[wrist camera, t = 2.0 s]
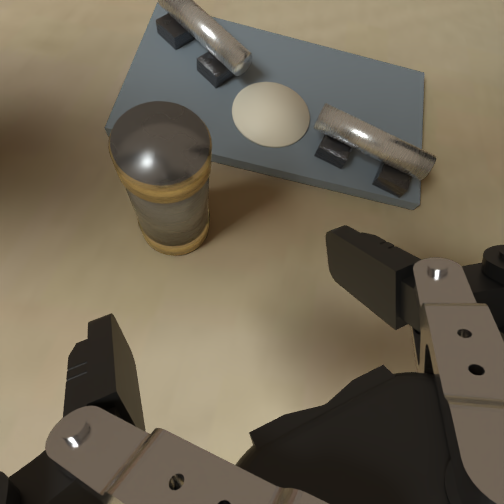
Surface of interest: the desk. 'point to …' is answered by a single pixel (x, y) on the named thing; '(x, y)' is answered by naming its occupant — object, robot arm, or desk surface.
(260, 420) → the desk surface
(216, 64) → the shaft
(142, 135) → the banded tin drum
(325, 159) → the shaft
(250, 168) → the board
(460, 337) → the robot arm
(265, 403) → the desk surface
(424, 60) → the desk surface
